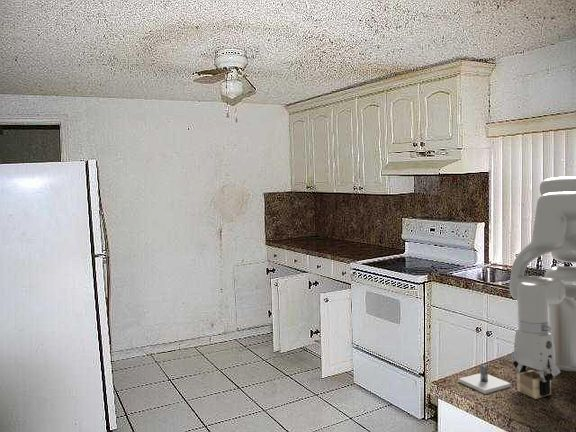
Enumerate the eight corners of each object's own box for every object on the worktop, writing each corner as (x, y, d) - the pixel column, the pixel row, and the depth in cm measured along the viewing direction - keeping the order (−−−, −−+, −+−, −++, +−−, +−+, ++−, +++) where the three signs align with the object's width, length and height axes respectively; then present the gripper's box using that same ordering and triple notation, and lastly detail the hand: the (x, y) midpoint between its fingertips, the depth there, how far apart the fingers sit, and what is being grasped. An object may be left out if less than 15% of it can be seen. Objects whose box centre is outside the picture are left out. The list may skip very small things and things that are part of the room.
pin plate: (483, 375, 148) (483, 357, 148) (510, 386, 139) (510, 368, 139) (458, 381, 144) (458, 363, 144) (484, 393, 135) (484, 374, 135)
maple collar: (532, 386, 138) (531, 369, 138) (551, 394, 133) (550, 376, 133) (517, 390, 136) (516, 373, 136) (536, 398, 130) (535, 380, 130)
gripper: (571, 332, 127) (572, 399, 128) (516, 317, 143) (517, 377, 144) (552, 336, 124) (553, 405, 125) (497, 321, 140) (499, 382, 141)
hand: (533, 389), depth 134 cm, fingers closed on maple collar, 6 cm apart
